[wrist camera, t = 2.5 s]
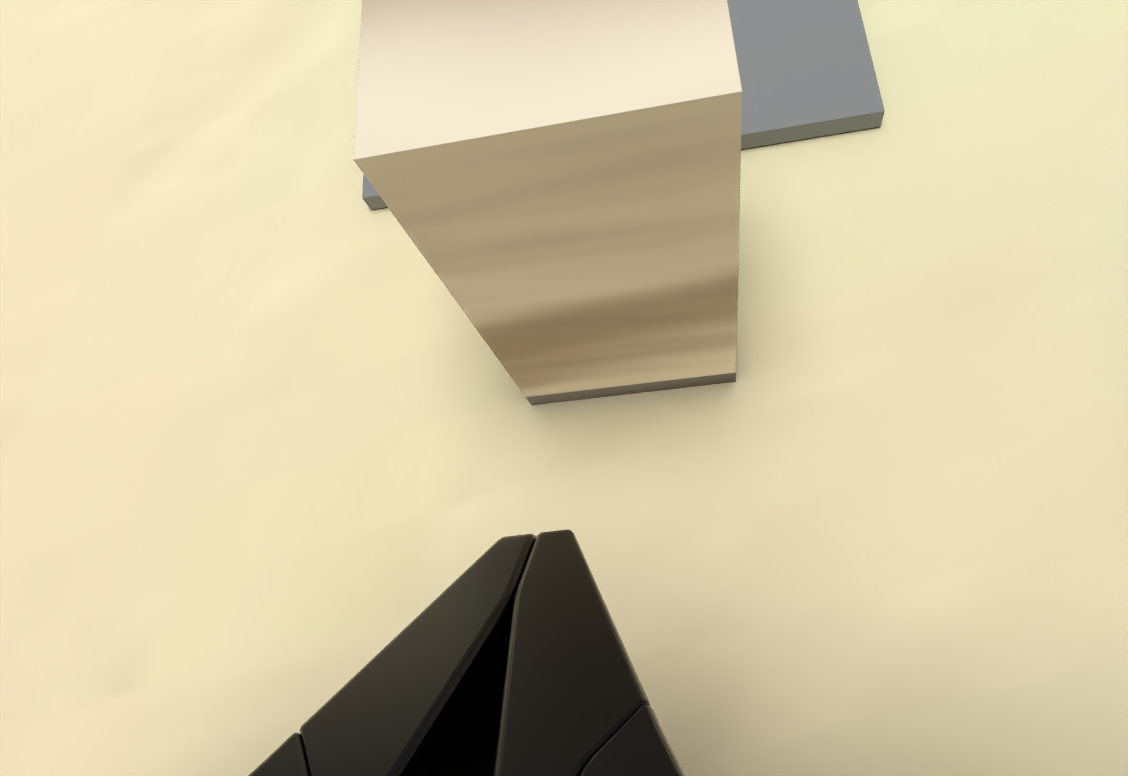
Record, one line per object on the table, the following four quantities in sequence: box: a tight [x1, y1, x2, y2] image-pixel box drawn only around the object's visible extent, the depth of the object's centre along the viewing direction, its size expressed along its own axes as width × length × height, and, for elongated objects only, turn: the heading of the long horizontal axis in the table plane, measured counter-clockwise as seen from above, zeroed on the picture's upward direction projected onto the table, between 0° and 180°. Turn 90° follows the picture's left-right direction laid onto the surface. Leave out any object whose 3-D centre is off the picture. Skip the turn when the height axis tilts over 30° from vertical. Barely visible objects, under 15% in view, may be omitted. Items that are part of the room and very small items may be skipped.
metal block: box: [353, 0, 742, 405], centre depth 15 cm, size 5×5×10 cm
